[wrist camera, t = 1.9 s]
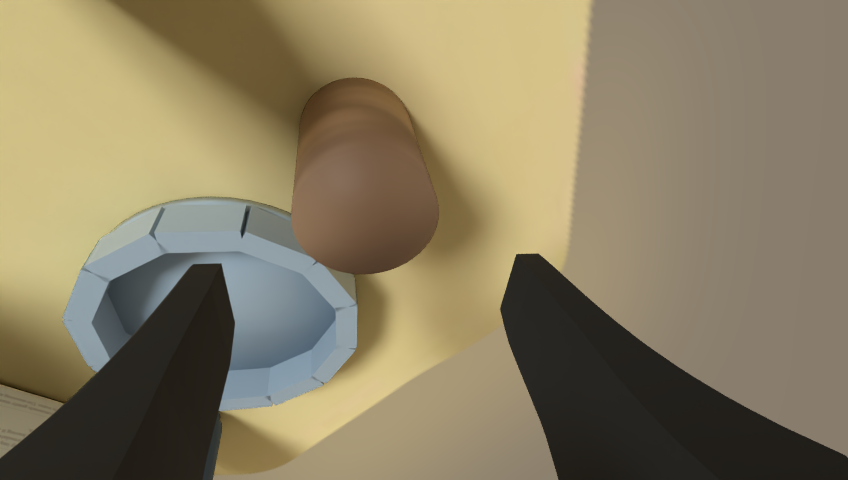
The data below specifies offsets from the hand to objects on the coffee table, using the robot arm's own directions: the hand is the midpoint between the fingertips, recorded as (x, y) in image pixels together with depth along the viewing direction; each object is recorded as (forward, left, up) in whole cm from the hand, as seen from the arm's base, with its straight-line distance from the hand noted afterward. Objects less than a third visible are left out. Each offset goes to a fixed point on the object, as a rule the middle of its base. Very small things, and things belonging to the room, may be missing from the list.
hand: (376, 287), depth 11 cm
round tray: (-6, -9, -9) cm, 14 cm away
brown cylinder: (0, 0, -9) cm, 9 cm away
